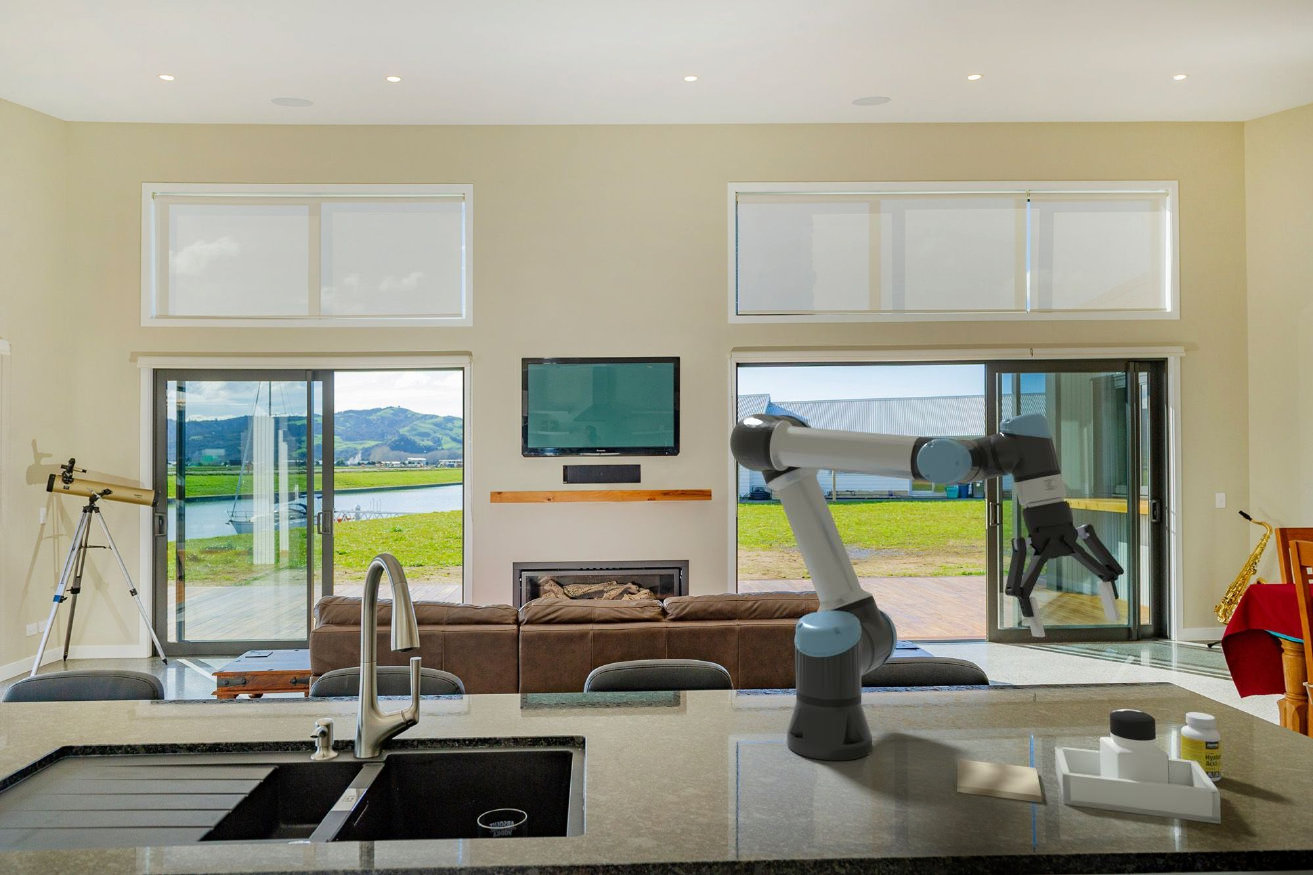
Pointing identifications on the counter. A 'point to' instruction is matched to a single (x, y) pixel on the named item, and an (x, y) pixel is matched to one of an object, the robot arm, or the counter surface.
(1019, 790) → the board
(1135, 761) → the medicine bottle
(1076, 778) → the parts bin
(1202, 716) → the supplement bottle
